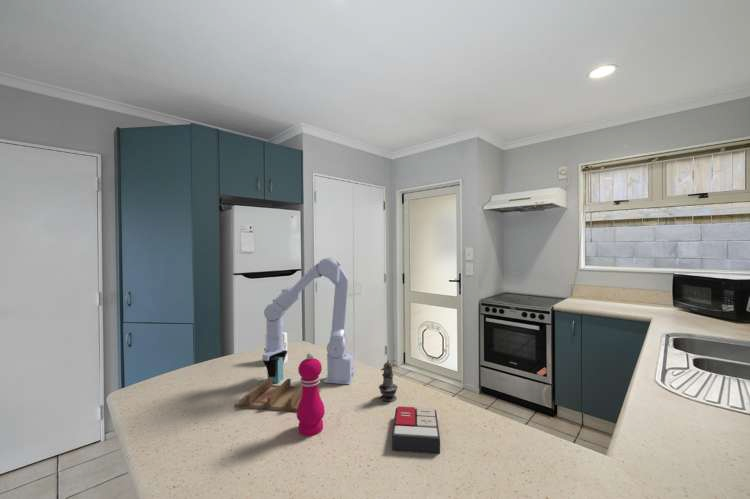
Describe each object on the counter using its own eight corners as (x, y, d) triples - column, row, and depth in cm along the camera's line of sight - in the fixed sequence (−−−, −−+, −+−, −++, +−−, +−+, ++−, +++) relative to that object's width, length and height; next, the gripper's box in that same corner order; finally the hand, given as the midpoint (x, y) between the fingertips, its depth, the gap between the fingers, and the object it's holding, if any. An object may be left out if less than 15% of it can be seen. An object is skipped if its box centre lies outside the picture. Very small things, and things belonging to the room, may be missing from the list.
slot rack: (320, 391, 106) (320, 380, 106) (304, 412, 92) (304, 400, 92) (259, 387, 110) (259, 377, 110) (234, 407, 96) (234, 395, 96)
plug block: (283, 378, 117) (282, 356, 117) (278, 383, 113) (277, 360, 113) (272, 378, 118) (272, 356, 118) (267, 382, 114) (267, 360, 114)
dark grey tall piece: (397, 394, 103) (397, 357, 103) (397, 403, 97) (396, 363, 97) (379, 393, 104) (379, 356, 104) (378, 402, 98) (377, 363, 98)
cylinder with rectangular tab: (261, 364, 132) (261, 335, 132) (271, 357, 141) (271, 330, 141) (281, 365, 130) (281, 336, 130) (291, 358, 139) (290, 330, 139)
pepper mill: (329, 424, 86) (328, 350, 86) (316, 439, 79) (315, 358, 79) (306, 419, 88) (305, 347, 88) (291, 434, 81) (290, 355, 81)
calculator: (435, 406, 88) (440, 435, 73) (436, 422, 88) (440, 454, 73) (395, 404, 90) (391, 432, 75) (395, 420, 89) (391, 451, 74)
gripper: (274, 330, 123) (274, 366, 123) (253, 341, 109) (254, 381, 109) (291, 331, 122) (291, 366, 122) (273, 342, 108) (273, 382, 108)
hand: (275, 373), depth 115 cm, fingers open, 4 cm apart
